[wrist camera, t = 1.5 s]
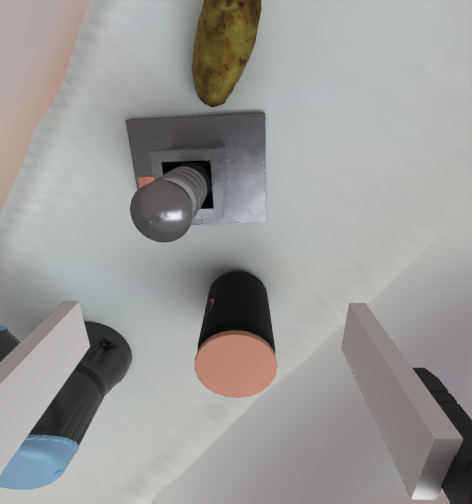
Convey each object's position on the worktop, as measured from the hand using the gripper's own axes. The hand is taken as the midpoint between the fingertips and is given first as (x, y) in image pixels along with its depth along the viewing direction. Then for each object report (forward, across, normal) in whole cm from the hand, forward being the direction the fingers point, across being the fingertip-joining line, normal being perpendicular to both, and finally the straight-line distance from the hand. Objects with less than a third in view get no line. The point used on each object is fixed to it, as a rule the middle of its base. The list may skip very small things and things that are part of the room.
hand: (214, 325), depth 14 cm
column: (+33, -5, +3) cm, 34 cm away
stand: (+34, -5, +3) cm, 35 cm away
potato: (+35, -1, +19) cm, 39 cm away
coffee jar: (+35, +1, -19) cm, 40 cm away
